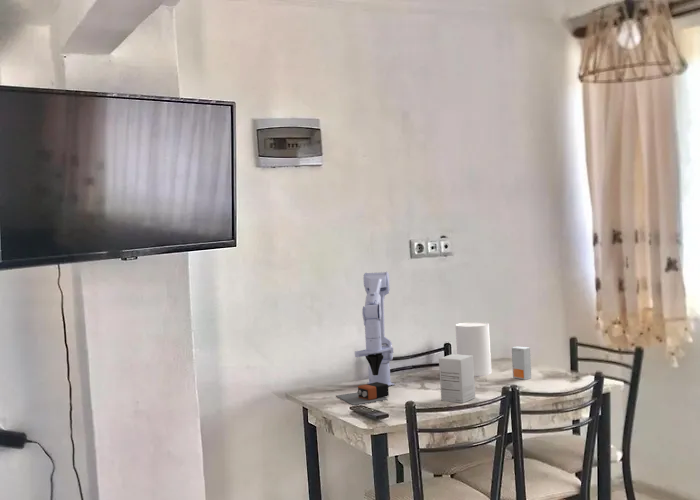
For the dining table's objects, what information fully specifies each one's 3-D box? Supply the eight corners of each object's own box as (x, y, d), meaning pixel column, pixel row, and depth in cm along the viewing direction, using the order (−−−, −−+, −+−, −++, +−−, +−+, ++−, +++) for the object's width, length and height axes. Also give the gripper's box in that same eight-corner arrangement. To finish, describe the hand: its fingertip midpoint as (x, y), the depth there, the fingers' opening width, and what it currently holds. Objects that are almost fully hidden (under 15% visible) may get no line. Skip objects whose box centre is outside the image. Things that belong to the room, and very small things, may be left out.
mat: (336, 396, 267) (336, 395, 267) (368, 391, 272) (368, 390, 272) (353, 405, 251) (353, 404, 251) (387, 400, 256) (387, 399, 256)
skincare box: (512, 378, 282) (510, 347, 282) (519, 376, 284) (518, 345, 284) (524, 380, 277) (523, 348, 277) (532, 378, 280) (530, 347, 279)
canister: (451, 372, 299) (449, 324, 299) (478, 368, 305) (476, 321, 304) (470, 377, 287) (467, 327, 286) (498, 373, 293) (495, 324, 292)
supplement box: (453, 395, 258) (451, 353, 258) (476, 397, 252) (473, 355, 252) (440, 400, 251) (437, 357, 251) (462, 403, 245) (460, 359, 245)
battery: (389, 396, 261) (367, 401, 255) (377, 393, 266) (355, 398, 260) (388, 384, 261) (366, 388, 255) (377, 381, 266) (355, 386, 260)
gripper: (359, 340, 256) (361, 379, 256) (396, 336, 262) (398, 374, 262) (351, 338, 263) (353, 376, 263) (387, 334, 268) (389, 371, 268)
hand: (375, 374), depth 263 cm, fingers closed
